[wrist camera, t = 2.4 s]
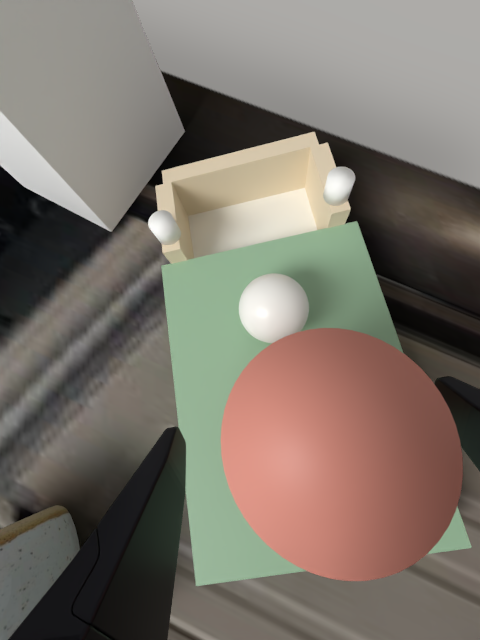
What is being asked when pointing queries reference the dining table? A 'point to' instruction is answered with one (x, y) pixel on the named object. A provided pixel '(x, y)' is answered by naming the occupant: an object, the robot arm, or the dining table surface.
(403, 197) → the dining table surface
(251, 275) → the pitch
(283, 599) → the dining table surface
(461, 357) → the dining table surface
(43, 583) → the ceramic mug
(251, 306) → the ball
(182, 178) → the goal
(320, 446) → the salmon pink cylinder
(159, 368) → the dining table surface
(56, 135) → the milk
